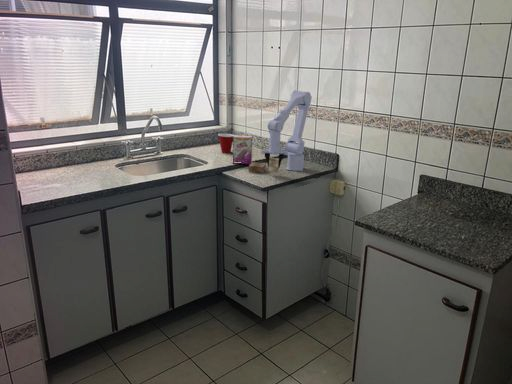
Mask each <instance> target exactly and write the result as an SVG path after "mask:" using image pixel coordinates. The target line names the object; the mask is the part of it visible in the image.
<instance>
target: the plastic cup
mask: <svg viewBox="0 0 512 384" xmlns="http://www.w3.org/2000/svg"><path fill="white" fill-rule="evenodd" d="M234 135H235V134H232V133H218V134H217V136H218V139H219V146H220V150H221V153H222V154H230V153H231V150H232V148H233V137H234Z"/></svg>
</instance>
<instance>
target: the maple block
mask: <svg viewBox="0 0 512 384" xmlns="http://www.w3.org/2000/svg"><path fill="white" fill-rule="evenodd" d="M278 165H279V157H278V158H277V157H276V158H275V157H270V160H269V167H268V172H277V173H278V172H279V170H280V168H278Z"/></svg>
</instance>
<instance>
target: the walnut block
mask: <svg viewBox="0 0 512 384" xmlns="http://www.w3.org/2000/svg"><path fill="white" fill-rule="evenodd" d="M266 170H267V162H266V163H265V162H257V161H252V163H251V164H248V173H255V174H256V173H257V174H264V172H265V171H266Z"/></svg>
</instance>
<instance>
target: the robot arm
mask: <svg viewBox="0 0 512 384" xmlns="http://www.w3.org/2000/svg"><path fill="white" fill-rule="evenodd" d="M311 102H312V95H311V93H310V92H309V91H301V90H296V89H295V90H293V91H292V93H291V94H290V99H289V101H288V102H287V104H286V105H285V107H284V108H283V109H280V110H279V112H278V113H277V115H275V117H274V118H273V119H271V120H270V121H269V122H268V124H267V130H268V133H269V146H268V149H260V154H261V155H262V154H264V158H265V160H266V165H267V168H269V160H270V158H271V155H278V158H279V165H278V168H279V169H280V168H281V164H282V160H283V159H284V157H285V156H287V165H286V169H285V170H286V171H293V172H295V171H296V172H303V171H304V168H305V164H304V162H305V154H303V153H304V152H305V140H303V138H302V137H303V133H304V129H305V126H306V125H305V124H306V122H307V116H308V113H309V112H308V111H309V108H310V106H311ZM295 107H297V109H298V110H297V114H296V119H295V123H294V128H293V132H292V136H290V137H289V138H288V139H287V141H286V143H285V145H284V146H285V147H284V149H285V150H283V149H282V150H281V135H282V133H281V132H282V131H283V129H284V126H285V123H286V122H287V120H288V119H289V117H290V113H291V112H292V111H293V110H294V109H295Z"/></svg>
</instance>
